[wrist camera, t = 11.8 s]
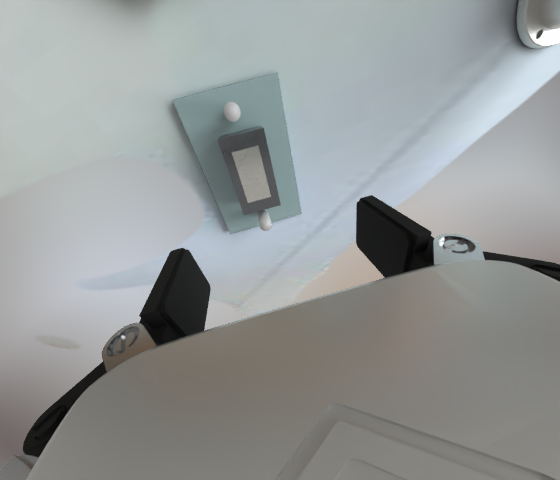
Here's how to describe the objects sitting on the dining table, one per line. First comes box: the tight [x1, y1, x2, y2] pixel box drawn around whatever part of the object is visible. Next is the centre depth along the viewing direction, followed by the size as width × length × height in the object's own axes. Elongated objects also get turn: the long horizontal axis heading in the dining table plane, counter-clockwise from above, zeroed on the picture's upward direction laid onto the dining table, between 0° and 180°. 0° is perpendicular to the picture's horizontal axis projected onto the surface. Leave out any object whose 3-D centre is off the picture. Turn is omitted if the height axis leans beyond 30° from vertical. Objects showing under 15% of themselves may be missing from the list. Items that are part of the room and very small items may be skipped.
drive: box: [217, 126, 281, 215], centre depth 25 cm, size 5×9×5 cm, turn 13°
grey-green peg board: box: [172, 73, 302, 234], centre depth 25 cm, size 12×18×6 cm, turn 13°
